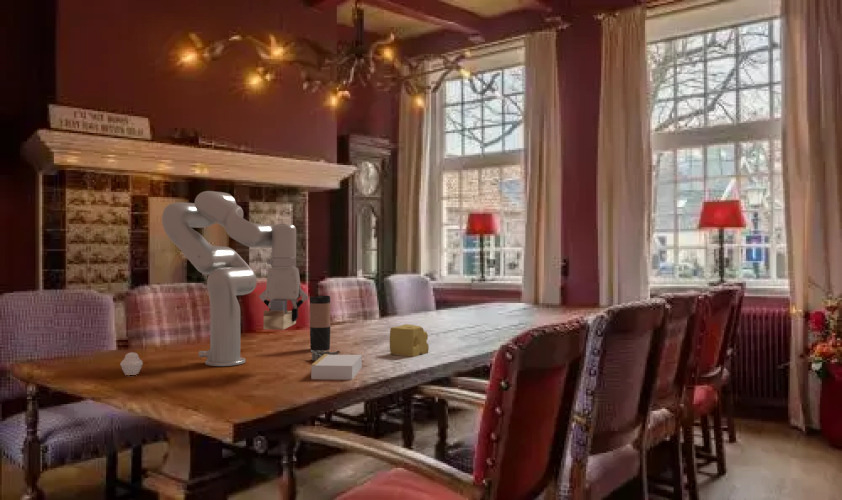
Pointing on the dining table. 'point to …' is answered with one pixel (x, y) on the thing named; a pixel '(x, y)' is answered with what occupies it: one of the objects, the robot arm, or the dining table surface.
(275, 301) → the blue-grey cube
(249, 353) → the dining table surface
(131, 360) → the grey faceted stone
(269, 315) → the wooden block
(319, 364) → the block
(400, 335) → the cheese
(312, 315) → the travel mug
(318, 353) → the egg carton
